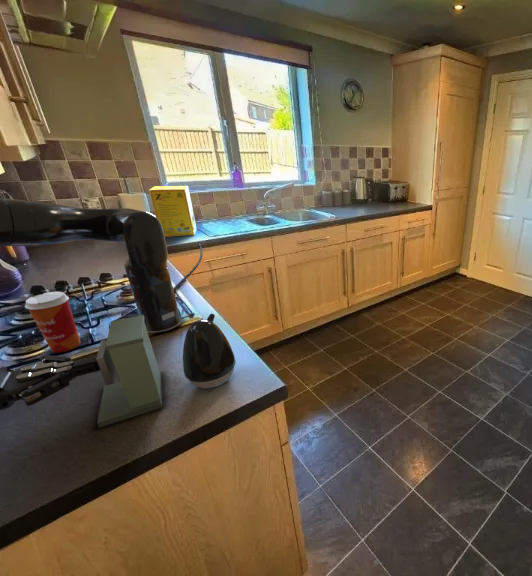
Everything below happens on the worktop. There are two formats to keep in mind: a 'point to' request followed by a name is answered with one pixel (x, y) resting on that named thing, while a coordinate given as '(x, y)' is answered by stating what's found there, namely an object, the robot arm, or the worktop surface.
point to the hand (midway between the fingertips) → (100, 363)
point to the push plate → (106, 363)
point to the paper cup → (54, 320)
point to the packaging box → (173, 210)
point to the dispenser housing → (130, 373)
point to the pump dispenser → (207, 355)
